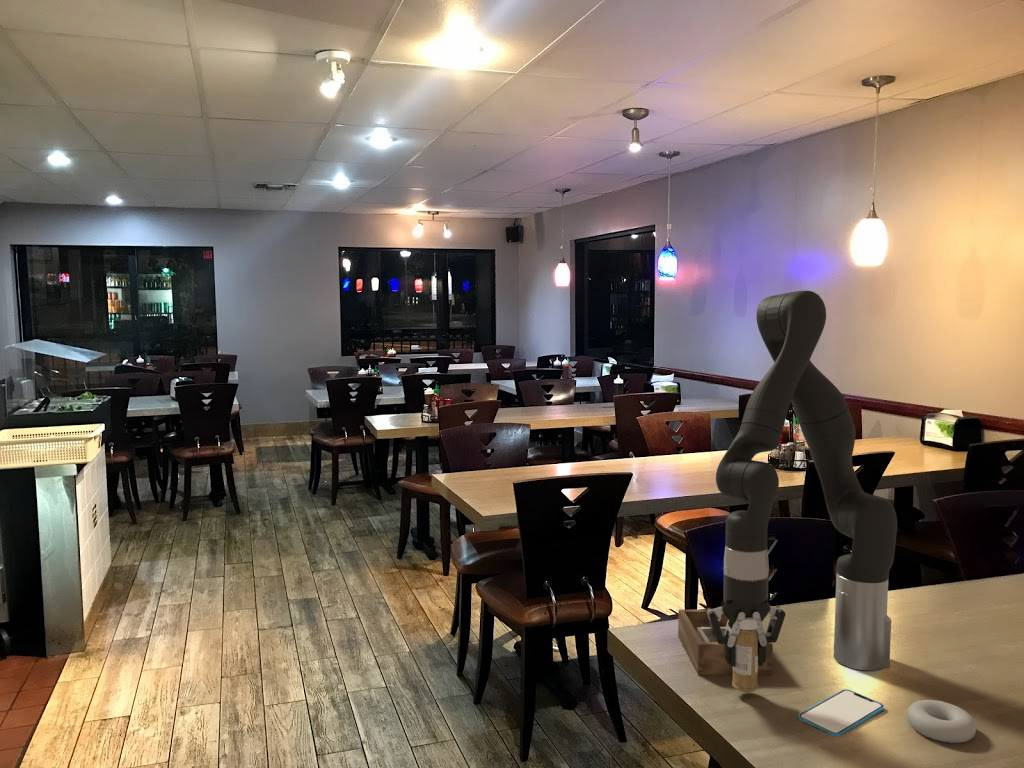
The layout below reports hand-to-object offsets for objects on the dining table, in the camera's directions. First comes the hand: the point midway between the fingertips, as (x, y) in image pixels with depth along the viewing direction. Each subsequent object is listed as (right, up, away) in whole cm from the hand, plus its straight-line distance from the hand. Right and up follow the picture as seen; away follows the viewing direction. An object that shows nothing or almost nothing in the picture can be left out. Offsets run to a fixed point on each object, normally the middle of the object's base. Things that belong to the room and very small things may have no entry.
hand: (744, 664), depth 137 cm
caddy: (+1, -4, +17) cm, 17 cm away
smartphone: (+15, -7, -6) cm, 17 cm away
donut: (+29, -7, -11) cm, 32 cm away
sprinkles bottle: (0, -4, 0) cm, 5 cm away
